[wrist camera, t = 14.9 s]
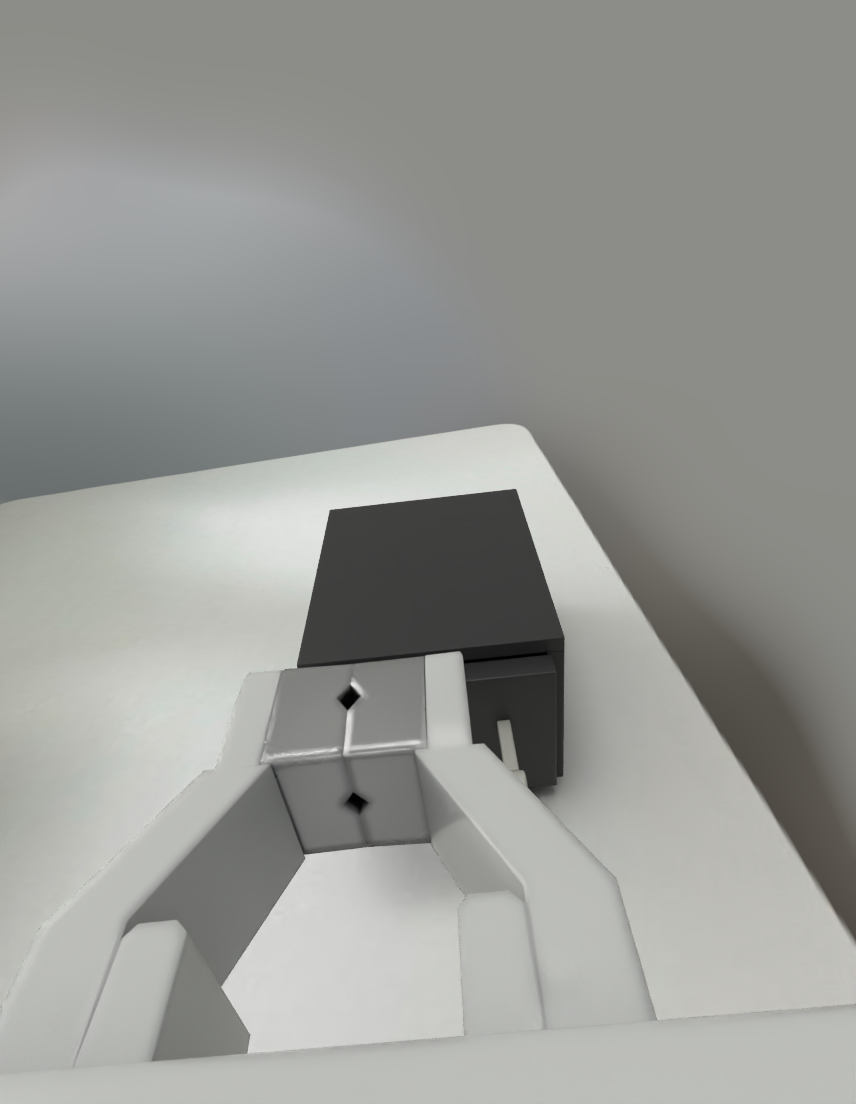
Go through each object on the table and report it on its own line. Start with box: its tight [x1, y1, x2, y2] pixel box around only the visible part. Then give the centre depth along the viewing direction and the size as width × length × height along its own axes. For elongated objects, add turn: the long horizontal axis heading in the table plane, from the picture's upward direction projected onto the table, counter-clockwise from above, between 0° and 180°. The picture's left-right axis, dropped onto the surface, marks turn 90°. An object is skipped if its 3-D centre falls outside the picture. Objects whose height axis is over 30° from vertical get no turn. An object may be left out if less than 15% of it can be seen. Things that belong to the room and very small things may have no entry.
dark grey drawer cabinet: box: [297, 489, 564, 776], centre depth 37 cm, size 15×12×10 cm
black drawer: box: [463, 654, 556, 788], centre depth 34 cm, size 18×11×8 cm, turn 2°
